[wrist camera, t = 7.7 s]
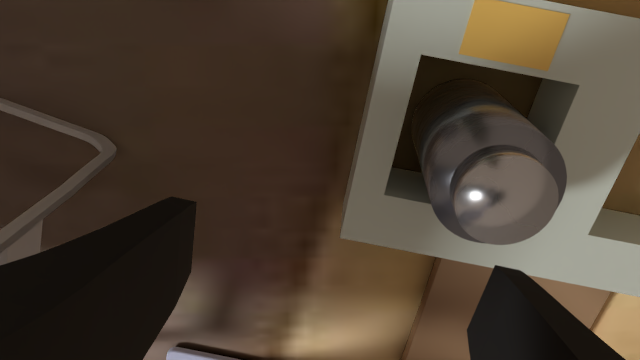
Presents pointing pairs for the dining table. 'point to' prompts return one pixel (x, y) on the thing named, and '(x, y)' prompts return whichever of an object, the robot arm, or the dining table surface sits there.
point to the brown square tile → (461, 302)
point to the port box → (546, 115)
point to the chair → (27, 228)
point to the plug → (485, 164)
